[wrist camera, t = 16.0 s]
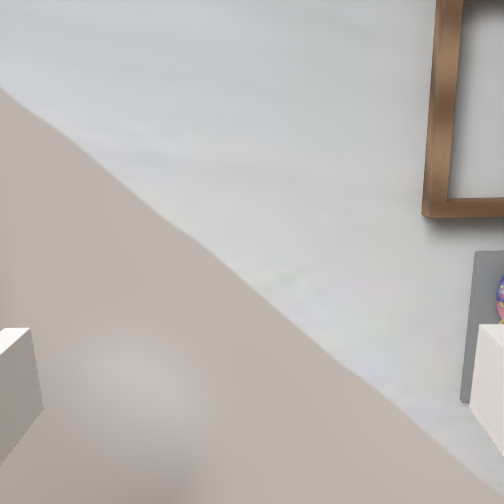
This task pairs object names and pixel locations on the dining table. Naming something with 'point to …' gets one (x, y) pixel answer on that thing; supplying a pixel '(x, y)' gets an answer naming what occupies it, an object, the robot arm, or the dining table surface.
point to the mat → (481, 308)
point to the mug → (500, 299)
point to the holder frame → (447, 123)
